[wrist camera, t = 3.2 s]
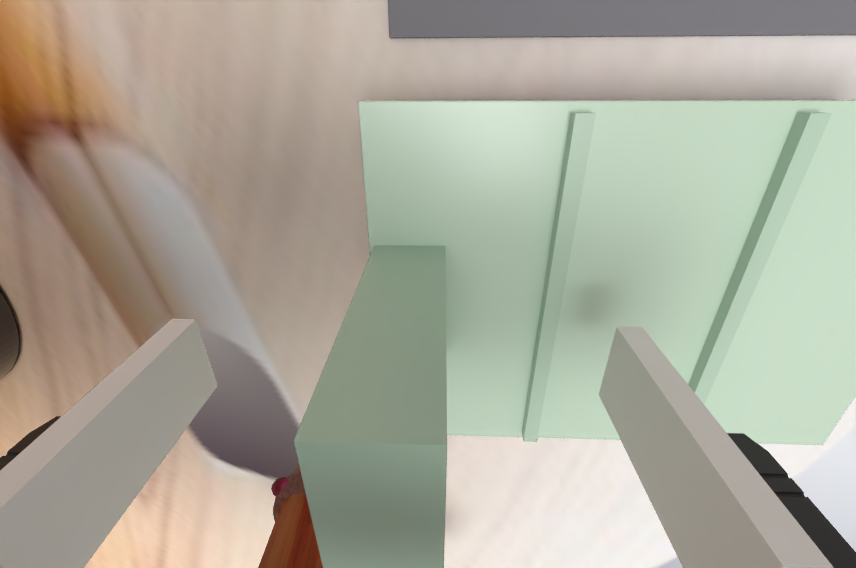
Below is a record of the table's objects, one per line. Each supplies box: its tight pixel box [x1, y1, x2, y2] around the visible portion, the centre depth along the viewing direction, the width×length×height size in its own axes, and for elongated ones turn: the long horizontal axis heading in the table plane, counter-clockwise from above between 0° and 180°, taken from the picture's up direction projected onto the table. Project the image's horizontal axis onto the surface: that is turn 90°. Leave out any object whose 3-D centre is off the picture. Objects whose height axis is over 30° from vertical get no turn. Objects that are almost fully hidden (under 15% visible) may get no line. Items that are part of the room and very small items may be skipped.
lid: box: [294, 100, 856, 568], centre depth 12 cm, size 21×15×10 cm
